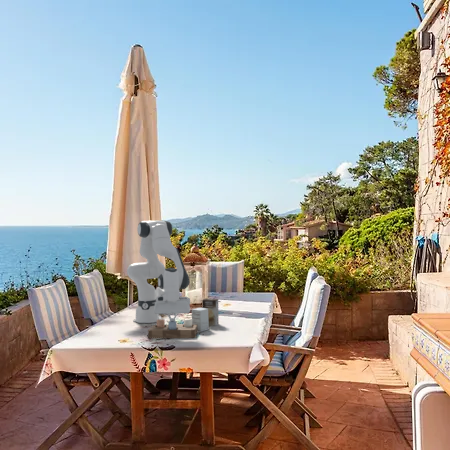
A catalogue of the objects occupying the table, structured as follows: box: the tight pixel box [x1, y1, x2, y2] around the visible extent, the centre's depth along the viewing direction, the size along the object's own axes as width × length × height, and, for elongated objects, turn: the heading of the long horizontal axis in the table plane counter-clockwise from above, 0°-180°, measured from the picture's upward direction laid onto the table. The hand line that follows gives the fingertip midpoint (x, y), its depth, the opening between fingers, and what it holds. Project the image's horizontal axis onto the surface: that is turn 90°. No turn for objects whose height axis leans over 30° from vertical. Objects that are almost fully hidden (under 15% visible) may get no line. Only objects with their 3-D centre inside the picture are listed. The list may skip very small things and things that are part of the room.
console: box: [147, 324, 199, 339], centre depth 285 cm, size 15×26×4 cm, turn 87°
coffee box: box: [201, 298, 220, 327], centre depth 312 cm, size 9×6×16 cm
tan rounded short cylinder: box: [156, 319, 166, 327], centre depth 289 cm, size 5×5×6 cm
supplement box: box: [191, 307, 210, 333], centre depth 297 cm, size 7×7×13 cm
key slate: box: [167, 320, 178, 330], centre depth 281 cm, size 5×5×6 cm
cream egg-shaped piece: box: [183, 318, 192, 327], centre depth 288 cm, size 5×5×6 cm
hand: (172, 321), depth 281 cm, fingers closed, pressing on key slate
